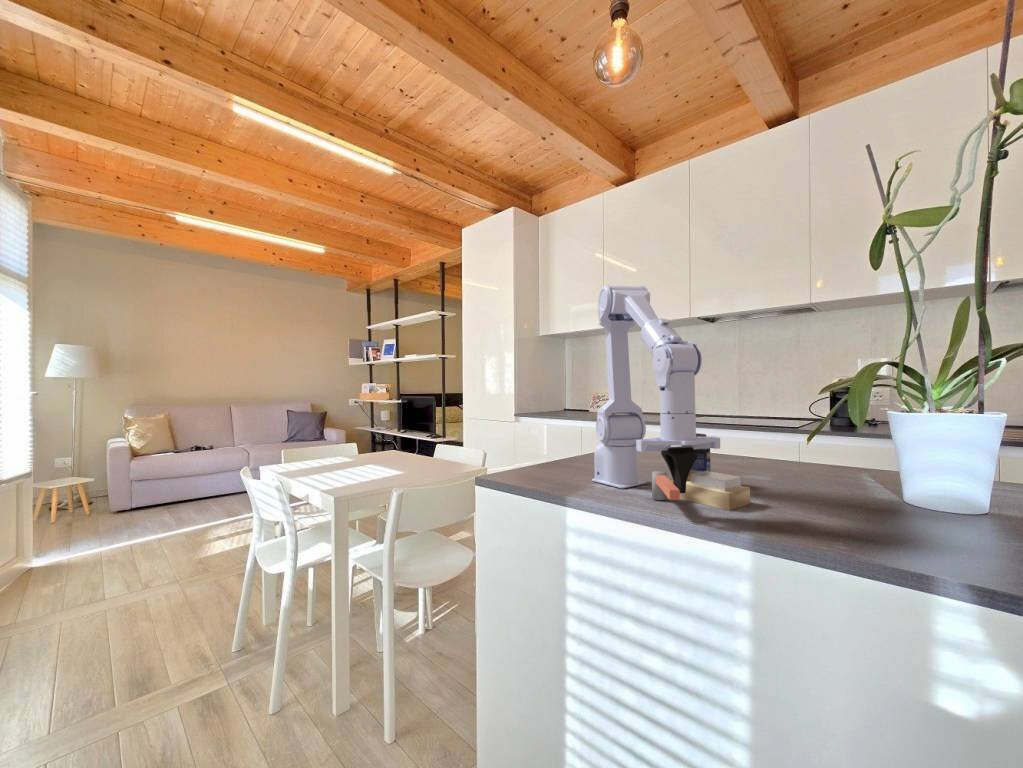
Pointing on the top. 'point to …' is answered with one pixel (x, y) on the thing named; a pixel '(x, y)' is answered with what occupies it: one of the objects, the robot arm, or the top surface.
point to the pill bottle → (701, 458)
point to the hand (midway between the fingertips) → (679, 492)
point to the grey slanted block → (716, 480)
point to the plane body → (716, 496)
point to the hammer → (663, 487)
